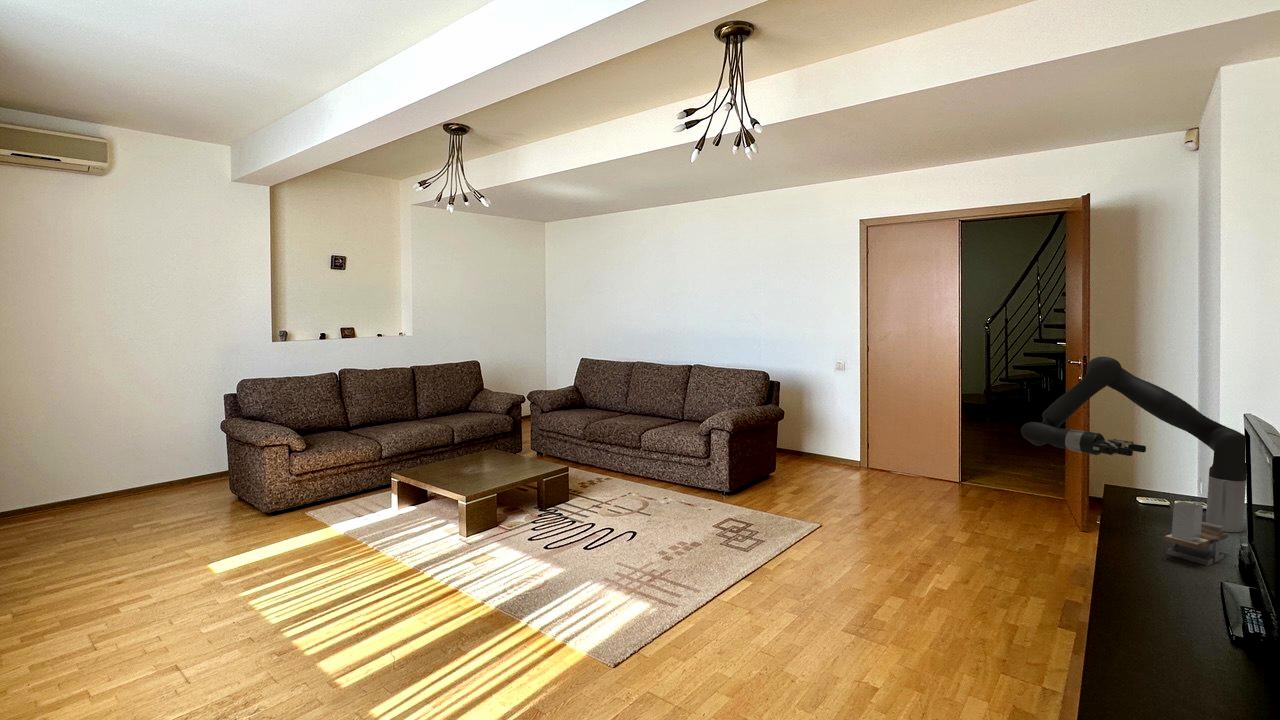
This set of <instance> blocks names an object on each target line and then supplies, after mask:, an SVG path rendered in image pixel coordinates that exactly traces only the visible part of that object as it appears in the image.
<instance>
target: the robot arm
mask: <svg viewBox="0 0 1280 720" xmlns="http://www.w3.org/2000/svg"><path fill="white" fill-rule="evenodd" d="M1086 372H1087V373H1086V374H1085V375H1084V376H1083V377H1082V378H1081V380H1080V381H1078V383H1077V384H1075V385H1074V386H1073V387H1071V388H1070V389H1069V390H1068V391H1065V393H1063V394H1061V396H1060V397H1057V398H1056V400H1055V401H1053V402H1052V403H1051V404H1050V405H1049V406H1048V407H1047V408H1046V409H1045V410H1044V411H1043V412H1042V414H1041V415H1042V420H1041V422H1038V421H1037V422H1036V421H1029V422H1026V423H1025V424H1023V425H1022V426H1021V429H1020V433H1021V436H1022V437H1023V438H1024V439H1025V440H1026V441H1028V442H1029V443H1031V444H1033V446H1036V447H1037V446H1038V447H1042V446H1044V445H1046V444H1049V445H1050V446H1053V447H1055V448H1058V449H1064V450H1070V451H1072V452H1077V453H1082V454H1088V455H1092V456H1099V455H1101V454H1104V455H1105V454H1106V455H1110V456H1113V455H1116V456H1117V455H1121V456H1125V457H1126V456H1127V457H1132V456H1133V455H1134V453H1133V452H1138V453H1146V452H1147V446H1146V445H1143V444H1136V443H1134V441H1128V440H1122V439H1116V438H1114V439H1111V438H1110V439H1108V438H1107V440H1106V439H1105V438H1104V435H1103V434H1101V433H1100V432H1092V431H1087V430H1081V429H1080V430H1079V429H1067V428H1062V427H1061V425H1063V424H1064V423H1065V422H1066V421H1067V420H1068V419H1069V418H1071V416H1072V415H1074V413H1075V412H1077V411H1078V410H1079V409H1080V408H1081V407H1082V406H1083V405H1084V404H1085V403H1087V401H1089V400H1090V399H1091V398H1092V397H1094V395H1096V394H1097V393H1099V392H1100V391H1101V390H1102V389H1105V388H1106V387H1109V388H1110V389H1112V390H1115V391H1117V392H1118V393H1119V394H1122V395H1123V396H1125V397H1126V398H1127V399H1129V400H1130V401H1131V402H1132V403H1134V404H1135V405H1137V406H1138V407H1140V408H1141V409H1142V410H1144V411H1146V412H1147V413H1149V414H1150V415H1152V416H1154V417H1155V418H1157V419H1159V420H1160V421H1162V422H1165V423H1166V424H1169V425H1171V426H1172V427H1174V428H1178V429H1180V430H1182V431H1184V432H1187V433H1188V434H1190V435H1192V436H1193V437H1195V438H1196V439H1198V440H1199V441H1201V442H1202V443H1204V445H1206V446H1207V447H1208V448H1210V449H1211V450H1212V451H1213V458H1212V465H1211V466H1210V467H1209V470H1208V485H1207V486H1208V487H1207V499H1206V500H1207V501H1206V511H1205V512H1206V513H1205V522H1206V523H1210V524H1215V525H1219V526H1223V532H1225V533H1241V532H1243V531H1242V530H1243V529H1244V520H1245V519H1244V518H1245V506H1246V505H1245V503H1246V491H1247V490H1246V488H1247V478H1246V463H1245V436H1246V434H1243V433H1241V432H1240V431H1238V430H1235V429H1233V428H1231V427H1228V426H1226V425H1223V424H1221V423H1219V422H1218V421H1215V420H1213V419H1211V418H1209V417H1207V416H1205V415H1204V414H1203V413H1201V412H1200V411H1199V410H1197V409H1196V408H1195V407H1194V406H1192V405H1191V404H1190V403H1189V402H1188V401H1185V400H1184V399H1182V398H1181V397H1179V396H1177V395H1176V394H1174V393H1172V392H1171V391H1169V390H1167V389H1164V388H1162V387H1161V386H1159V385H1156V384H1154V383H1152V382H1150V381H1147V380H1144V379H1142V378H1139V377H1137V376H1135V375H1134V374H1132V373H1130V371H1128V370H1126V369H1124V368H1123V367H1122V365H1121V363H1120V362H1119V361H1118V360H1117V359H1115V358H1113V357H1108V356H1096V357H1095V358H1092V359H1091V360H1090V361H1088V363H1087V365H1086ZM1126 445H1128V446H1126Z"/></svg>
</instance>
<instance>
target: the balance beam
mask: <svg viewBox="0 0 1280 720" xmlns="http://www.w3.org/2000/svg"><path fill="white" fill-rule="evenodd" d="M1171 536H1172V533H1170V534H1167V535H1164V536H1163V541H1165V542H1169V543H1176V544H1180V545H1183V546H1187V547H1191V548H1195V549H1199V548H1202V547H1204V546H1207V545H1210V544H1212V545H1213V541H1215V540H1220V541H1223V540H1226V539H1228V538H1229V533H1228V532H1224V531H1223V526H1219V525H1215V524H1210V523H1206V521H1202V524H1201V537H1200V540H1197V541H1194V542H1190V541H1186V540H1182V539H1178V538H1175V537H1171Z"/></svg>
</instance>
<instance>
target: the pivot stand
mask: <svg viewBox="0 0 1280 720" xmlns="http://www.w3.org/2000/svg"><path fill="white" fill-rule="evenodd" d="M1171 543H1172V542H1171ZM1220 547H1221V540H1215V541H1213V543H1212V544H1210V545H1207V546H1204V547H1202V548H1199V549H1195V548H1191V547H1187V546H1183V545H1180V544H1176V543H1172V544H1171V547H1168V548H1166V555H1168V556H1172V557H1175V558H1179V559H1183V560H1185V561H1190V562H1193V563H1196V564H1200V565H1203V566H1206V567H1208V566H1211V565H1213V564H1217V563H1219V561H1222V560H1224V556H1225V553H1223V552H1220Z"/></svg>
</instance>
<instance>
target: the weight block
mask: <svg viewBox="0 0 1280 720" xmlns="http://www.w3.org/2000/svg"><path fill="white" fill-rule="evenodd" d="M1203 511H1204V505H1202V504H1201V505H1200V504H1196V503H1191V502H1187V501H1177V502H1174V503H1173V512H1172V514H1173V515H1172V523H1171V524H1172V525H1171V534H1172V536H1171V537H1175V538H1178V539H1182V540H1186V541H1190V542H1194V541H1197V540H1200V537H1201V524H1202V522H1203Z"/></svg>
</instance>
